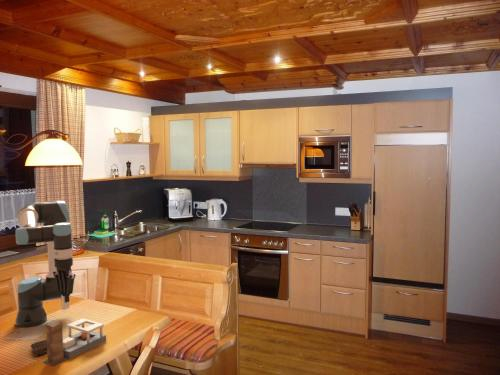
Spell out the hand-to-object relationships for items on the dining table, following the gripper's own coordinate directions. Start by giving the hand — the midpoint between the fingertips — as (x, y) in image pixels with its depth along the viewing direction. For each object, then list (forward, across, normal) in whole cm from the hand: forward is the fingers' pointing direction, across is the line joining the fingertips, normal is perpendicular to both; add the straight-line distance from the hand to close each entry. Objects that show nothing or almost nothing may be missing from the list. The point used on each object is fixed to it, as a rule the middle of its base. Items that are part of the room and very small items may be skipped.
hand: (65, 308), depth 188 cm
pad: (+20, +4, -8) cm, 22 cm away
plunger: (+18, +1, +10) cm, 21 cm away
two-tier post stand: (+20, +1, +6) cm, 21 cm away
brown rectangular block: (+19, +4, -8) cm, 21 cm away
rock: (+21, -11, -5) cm, 24 cm away
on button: (+18, +1, 0) cm, 18 cm away
